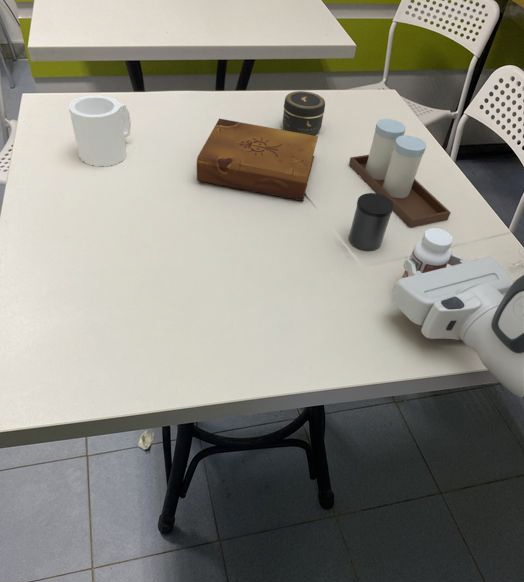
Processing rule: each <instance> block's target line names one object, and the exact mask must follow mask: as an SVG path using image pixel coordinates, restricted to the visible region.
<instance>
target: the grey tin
mask: <svg viewBox="0 0 524 582" xmlns="http://www.w3.org/2000/svg"><path fill="white" fill-rule="evenodd" d="M393 208H394V205H393V202H392V201H391V200H390V199H389V198H387V197H385V196H383V195H380V194H376V193H375V192H368V193H367V192H366V193H364V194H361V195H360V196H358V198H357V202H356V207H355V211H354V215H353V219H352V223H351V227H350V230H349V234H348V242H349V244H350V245H351V246H352V247H353V248H355V249H357V250H359V251H362V252H374V251H377V250H379V249H380V248H381V246H382V244H383V243H382V242H383V240H384V237H385V233H386V231H387V227H388V224H389V223H390V222H389V221H390V219H391V215H392V213H393V212H394V211H393Z"/></svg>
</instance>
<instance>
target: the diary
mask: <svg viewBox="0 0 524 582" xmlns="http://www.w3.org/2000/svg"><path fill="white" fill-rule="evenodd" d="M317 142H318V136H317V135H315V136H313V135H307V134H302V133H296V132H291V131H285V130H284V129H279V128H274V127H268V126H264V125H257V124H252V123H247V122H241V121H235V120H229V119H225V118H218V119H217V122H216V123H215V125H214V127H213V129H212V130H211V132H210V134H209V136H208V138H207V139H206V141H205V143H204V145H203V146H202V148H201V150H200V152H199V153H198V155H197V158H196V181H198V182H202V183H206V184H213V185H217V186H223V187H227V188H233V189H239V190H244V191H248V192H254V193H260V194H265V195H271V196H276V197H280V198H286V199H291V200H296V201H302V202H304V199H305V196H306V190H307V187H308V183H309V179H310V175H311V171H312V167H313V163H314V160H315V151H316V146H317Z"/></svg>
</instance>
